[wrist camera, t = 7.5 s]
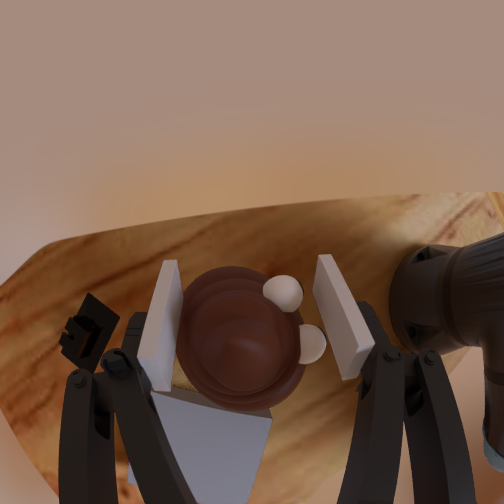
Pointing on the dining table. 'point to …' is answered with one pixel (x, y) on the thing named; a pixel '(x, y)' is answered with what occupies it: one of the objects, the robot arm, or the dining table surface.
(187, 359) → the poop emoji
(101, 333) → the black mounting bracket
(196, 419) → the grey block
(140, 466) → the robot arm
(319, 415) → the dining table surface
